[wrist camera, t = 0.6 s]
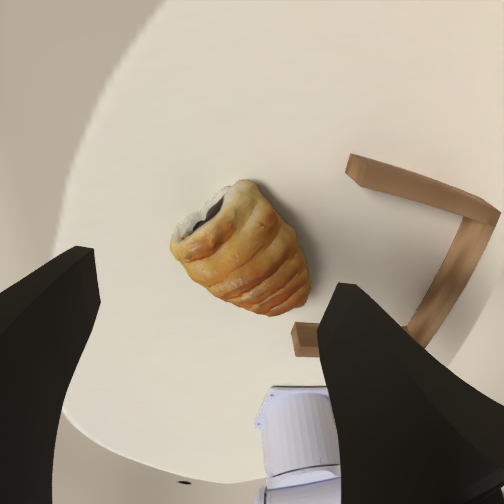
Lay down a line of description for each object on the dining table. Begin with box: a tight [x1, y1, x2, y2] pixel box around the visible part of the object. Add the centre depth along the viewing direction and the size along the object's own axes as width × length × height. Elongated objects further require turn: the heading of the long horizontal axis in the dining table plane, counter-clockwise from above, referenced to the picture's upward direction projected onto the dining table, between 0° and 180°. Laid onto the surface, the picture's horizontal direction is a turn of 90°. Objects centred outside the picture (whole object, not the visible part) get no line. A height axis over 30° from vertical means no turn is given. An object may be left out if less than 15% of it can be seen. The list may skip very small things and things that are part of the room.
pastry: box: [170, 180, 311, 317], centre depth 18 cm, size 9×7×4 cm
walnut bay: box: [291, 153, 501, 357], centre depth 19 cm, size 14×12×2 cm
